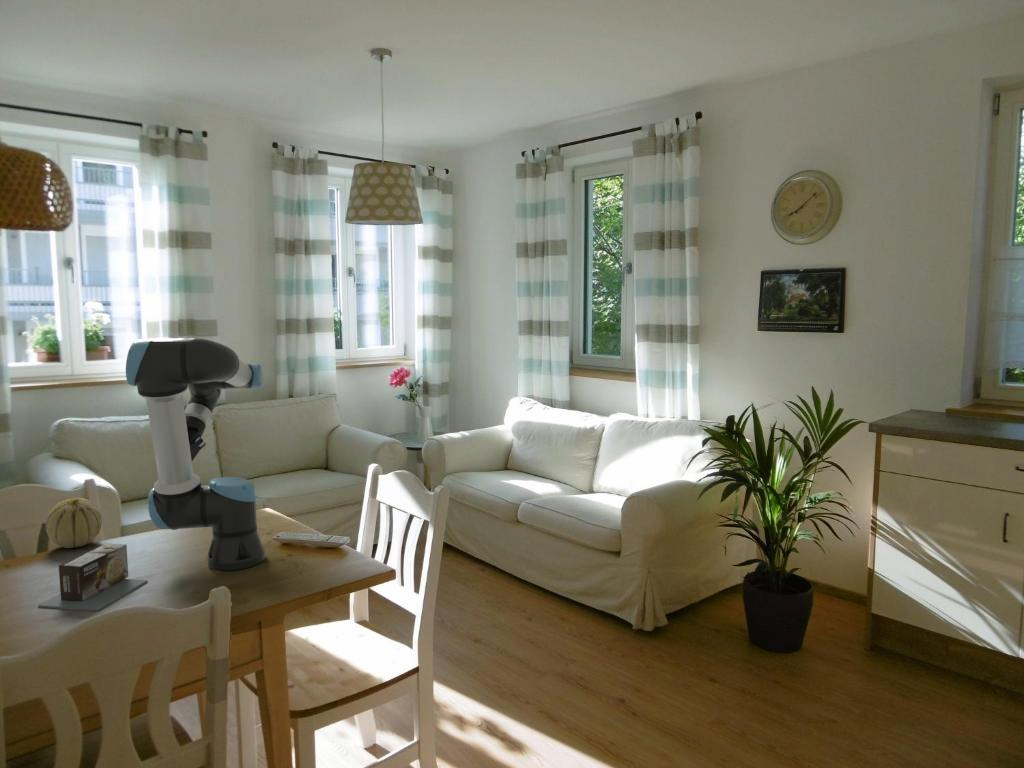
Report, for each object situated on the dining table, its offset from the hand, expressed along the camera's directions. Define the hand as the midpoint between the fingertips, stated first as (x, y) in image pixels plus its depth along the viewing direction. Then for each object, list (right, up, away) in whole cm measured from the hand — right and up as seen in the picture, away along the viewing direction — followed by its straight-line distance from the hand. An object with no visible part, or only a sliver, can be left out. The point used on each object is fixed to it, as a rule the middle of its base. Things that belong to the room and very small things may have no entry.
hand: (163, 488), depth 210 cm
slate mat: (-4, -23, -28) cm, 36 cm away
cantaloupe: (-30, -19, +8) cm, 37 cm away
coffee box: (-3, -16, -18) cm, 25 cm away
